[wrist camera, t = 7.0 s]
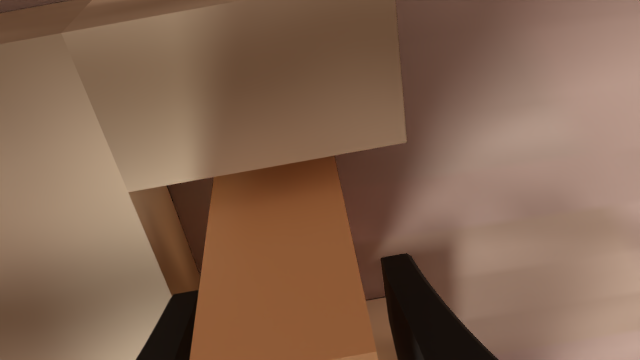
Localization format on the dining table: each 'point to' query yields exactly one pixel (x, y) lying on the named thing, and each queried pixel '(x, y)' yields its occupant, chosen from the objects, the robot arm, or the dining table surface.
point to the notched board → (163, 145)
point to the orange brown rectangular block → (281, 270)
